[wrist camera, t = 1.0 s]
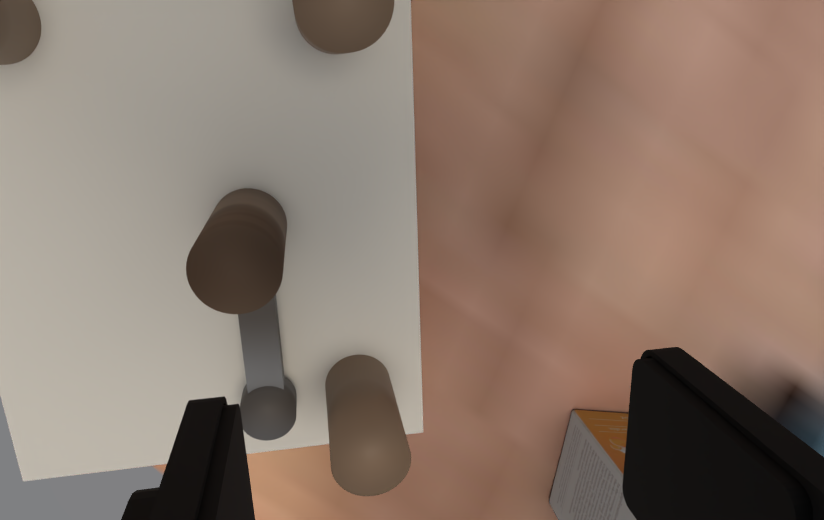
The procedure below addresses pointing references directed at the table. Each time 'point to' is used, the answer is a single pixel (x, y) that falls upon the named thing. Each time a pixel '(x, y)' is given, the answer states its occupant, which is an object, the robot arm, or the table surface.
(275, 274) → the grey and brown lever
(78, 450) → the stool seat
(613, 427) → the small box
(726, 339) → the table surface
